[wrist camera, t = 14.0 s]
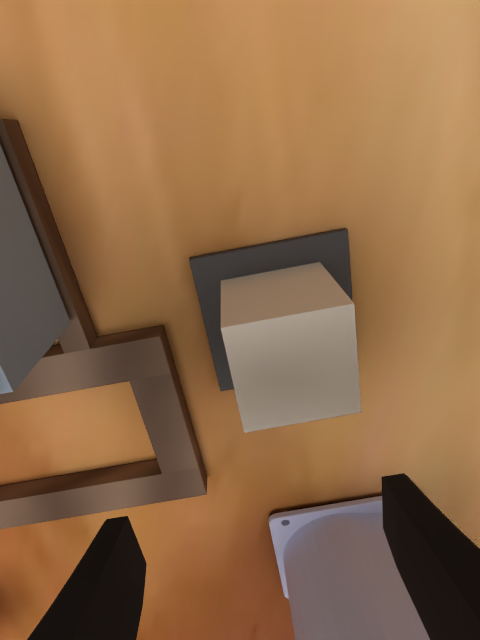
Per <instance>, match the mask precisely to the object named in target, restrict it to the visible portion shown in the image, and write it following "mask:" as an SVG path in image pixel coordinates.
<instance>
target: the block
mask: <svg viewBox="0 0 480 640" xmlns="http://www.w3.org/2000/svg"><path fill="white" fill-rule="evenodd" d="M221 332H222V336H223V341H224V345H225V350H226V354H227V359H228V363H229V368H230V372H231V376H232V381H233V385H234V390H235V394H236V399H237V403H238V408H239V412H240V417H241V421H242V425H243V430H244V433H246V432H252V431H257V430H263V429H269V428H274V427H280V426H286V425H292V424H297V423H303V422H309V421H315V420H320V419H326V418H332V417H338V416H343V415H349V414H355V413H360V412H361V398H360V383H359V368H358V353H357V338H356V323H355V309H354V303H353V302H352V300H351V299H350V298H349V297H348V295H347V294H346V293H345V292H344V291H343V289H342V288H341V287H340V286H339V285H338V283H337V282H336V281H335V280H334V278H333V277H332V276H331V275H330V274H329V272H328V271H327V270H326V269H325V268H324V266H323V265H322V264H321V263H320V262H317V263H312V264H306V265H301V266H296V267H290V268H285V269H280V270H274V271H269V272H264V273H258V274H253V275H248V276H242V277H237V278H232V279H226V280H221Z"/></svg>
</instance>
